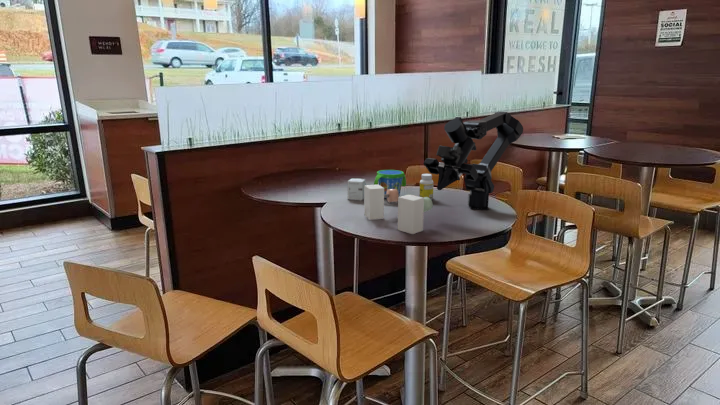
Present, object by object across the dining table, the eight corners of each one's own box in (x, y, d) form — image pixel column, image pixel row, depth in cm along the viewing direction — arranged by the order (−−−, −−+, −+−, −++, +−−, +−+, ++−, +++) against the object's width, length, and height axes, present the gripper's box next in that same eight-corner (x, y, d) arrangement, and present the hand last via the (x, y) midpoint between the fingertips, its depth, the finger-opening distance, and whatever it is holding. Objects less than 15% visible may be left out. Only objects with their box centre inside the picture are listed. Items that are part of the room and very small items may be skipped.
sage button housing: (408, 226, 156) (408, 194, 153) (422, 230, 151) (423, 197, 149) (397, 229, 152) (398, 197, 150) (412, 234, 148) (413, 200, 145)
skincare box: (347, 199, 189) (347, 181, 187) (351, 195, 195) (351, 177, 193) (362, 200, 188) (362, 181, 186) (366, 196, 193) (366, 178, 192)
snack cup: (397, 192, 201) (397, 167, 198) (413, 197, 192) (414, 171, 190) (366, 197, 193) (366, 171, 190) (381, 202, 184) (382, 176, 182)
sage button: (421, 209, 157) (421, 195, 156) (432, 211, 154) (432, 198, 153) (408, 213, 153) (408, 199, 152) (419, 215, 150) (419, 202, 149)
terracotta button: (393, 199, 169) (394, 187, 168) (398, 203, 165) (398, 190, 164) (376, 201, 167) (376, 188, 166) (380, 204, 163) (380, 191, 162)
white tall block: (378, 213, 170) (378, 184, 167) (383, 218, 164) (384, 188, 161) (364, 215, 168) (364, 185, 165) (369, 219, 163) (369, 189, 160)
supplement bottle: (418, 197, 192) (419, 173, 190) (432, 197, 192) (433, 173, 190) (419, 200, 187) (420, 176, 185) (433, 200, 187) (434, 176, 185)
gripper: (428, 134, 164) (405, 170, 159) (475, 139, 151) (452, 178, 146) (441, 154, 171) (420, 190, 167) (487, 161, 158) (466, 200, 154)
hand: (438, 189), depth 158 cm, fingers closed
